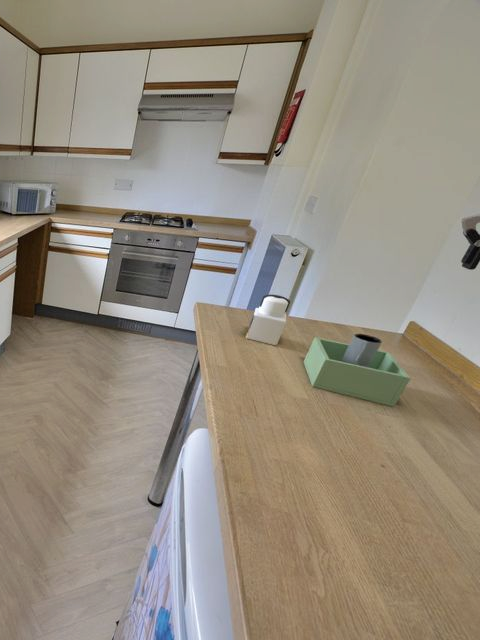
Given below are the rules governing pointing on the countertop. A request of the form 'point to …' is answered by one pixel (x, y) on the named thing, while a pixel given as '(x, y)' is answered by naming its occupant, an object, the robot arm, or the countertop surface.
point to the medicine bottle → (268, 320)
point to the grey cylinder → (361, 350)
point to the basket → (355, 373)
